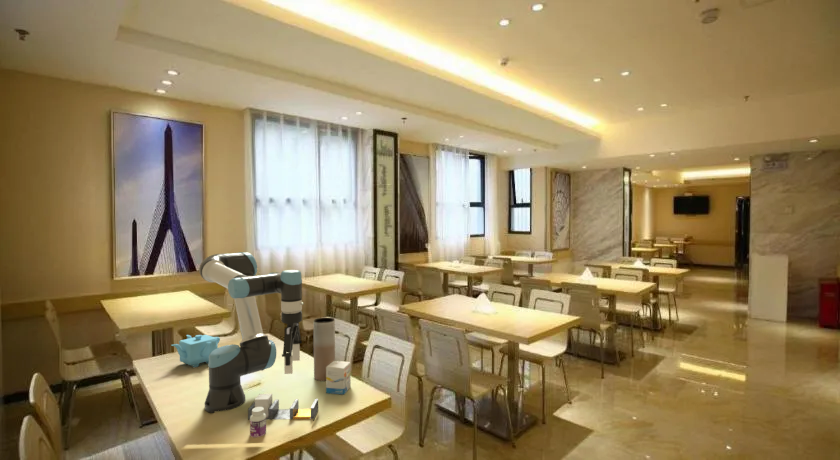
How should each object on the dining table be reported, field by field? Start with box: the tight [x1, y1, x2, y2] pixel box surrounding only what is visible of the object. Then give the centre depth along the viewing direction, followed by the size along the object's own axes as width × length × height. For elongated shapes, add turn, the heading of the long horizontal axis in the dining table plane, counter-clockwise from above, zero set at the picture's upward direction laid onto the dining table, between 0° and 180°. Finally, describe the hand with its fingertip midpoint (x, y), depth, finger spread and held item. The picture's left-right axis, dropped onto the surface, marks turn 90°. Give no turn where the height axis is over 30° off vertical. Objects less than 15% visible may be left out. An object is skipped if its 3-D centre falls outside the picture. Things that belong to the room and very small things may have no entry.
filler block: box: [254, 393, 273, 418], centre depth 161 cm, size 5×5×7 cm
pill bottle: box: [249, 407, 267, 438], centre depth 147 cm, size 5×5×10 cm
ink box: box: [325, 360, 352, 395], centre depth 186 cm, size 9×8×12 cm
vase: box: [312, 316, 336, 382], centre depth 200 cm, size 10×10×28 cm
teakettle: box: [171, 334, 221, 368], centre depth 221 cm, size 19×19×15 cm
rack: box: [247, 398, 319, 422], centre depth 162 cm, size 24×8×5 cm, turn 92°
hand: (292, 366), depth 160 cm, fingers open, 13 cm apart
